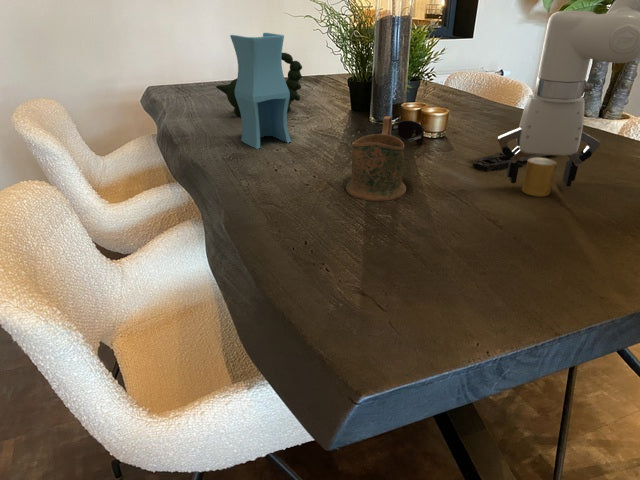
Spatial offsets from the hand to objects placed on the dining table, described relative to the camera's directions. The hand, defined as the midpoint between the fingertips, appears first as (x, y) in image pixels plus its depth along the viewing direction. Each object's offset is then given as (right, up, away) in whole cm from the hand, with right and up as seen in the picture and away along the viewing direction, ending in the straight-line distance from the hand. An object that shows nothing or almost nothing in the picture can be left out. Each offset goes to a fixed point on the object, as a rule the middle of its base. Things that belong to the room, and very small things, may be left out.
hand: (539, 182), depth 92 cm
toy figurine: (-59, +27, +57) cm, 87 cm away
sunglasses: (-23, +12, +28) cm, 38 cm away
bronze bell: (-30, 0, +5) cm, 30 cm away
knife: (+3, +7, +18) cm, 19 cm away
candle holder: (0, -2, +1) cm, 2 cm away
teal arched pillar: (-56, +14, +32) cm, 66 cm away
